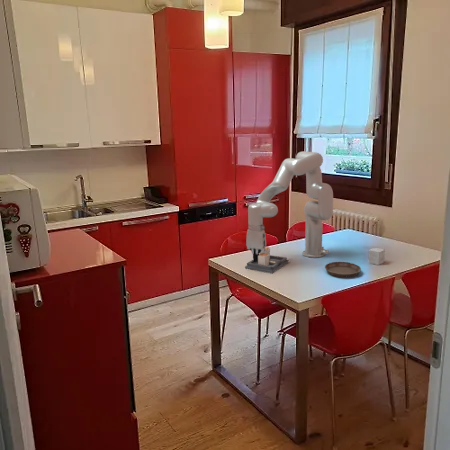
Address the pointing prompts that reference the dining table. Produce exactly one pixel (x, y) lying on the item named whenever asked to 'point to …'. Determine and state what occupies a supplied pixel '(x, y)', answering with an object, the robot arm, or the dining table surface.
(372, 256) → the product box
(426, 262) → the dining table surface
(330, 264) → the plant saucer
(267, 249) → the white orange-topped block
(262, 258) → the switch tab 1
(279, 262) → the grey compartment tray
